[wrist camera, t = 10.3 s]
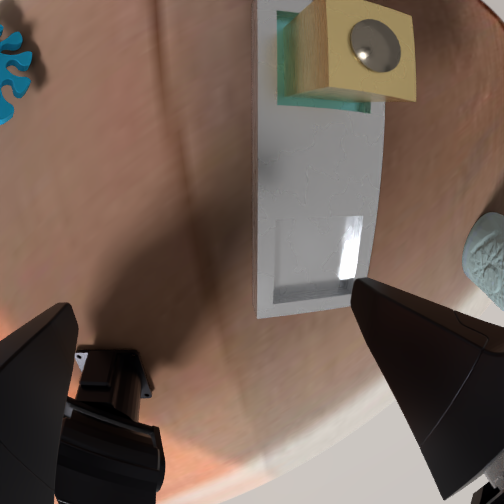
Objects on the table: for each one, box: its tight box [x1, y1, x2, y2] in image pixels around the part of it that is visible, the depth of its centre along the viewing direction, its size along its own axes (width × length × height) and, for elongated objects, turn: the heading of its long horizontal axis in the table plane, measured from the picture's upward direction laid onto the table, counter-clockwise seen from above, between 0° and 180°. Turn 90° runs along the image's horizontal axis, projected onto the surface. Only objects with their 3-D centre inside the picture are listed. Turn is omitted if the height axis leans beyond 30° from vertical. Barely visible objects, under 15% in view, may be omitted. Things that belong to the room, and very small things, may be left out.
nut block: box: [283, 0, 416, 103], centre depth 14 cm, size 5×5×7 cm
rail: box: [252, 0, 385, 319], centre depth 20 cm, size 23×9×2 cm, turn 0°
